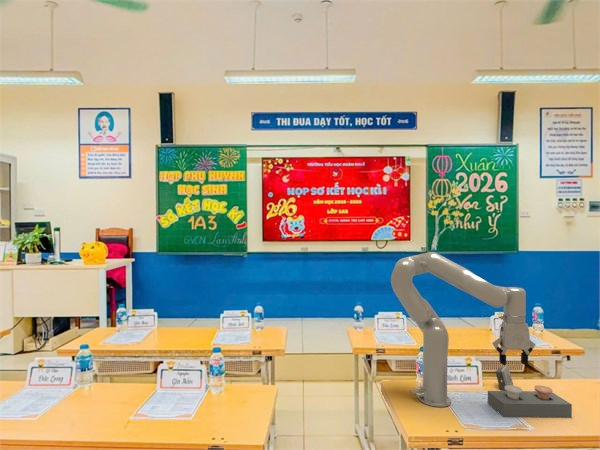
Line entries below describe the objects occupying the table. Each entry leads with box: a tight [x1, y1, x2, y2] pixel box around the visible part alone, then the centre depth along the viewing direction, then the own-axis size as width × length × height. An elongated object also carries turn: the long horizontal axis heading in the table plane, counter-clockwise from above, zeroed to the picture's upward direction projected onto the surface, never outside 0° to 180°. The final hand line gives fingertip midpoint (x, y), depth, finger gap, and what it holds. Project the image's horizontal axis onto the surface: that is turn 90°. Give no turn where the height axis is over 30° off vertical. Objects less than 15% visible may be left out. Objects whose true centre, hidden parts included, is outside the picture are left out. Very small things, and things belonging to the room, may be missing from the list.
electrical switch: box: [494, 364, 515, 391], centre depth 177 cm, size 9×5×9 cm, turn 141°
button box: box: [487, 390, 573, 419], centre depth 155 cm, size 26×12×5 cm, turn 92°
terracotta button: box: [534, 385, 553, 400], centre depth 155 cm, size 6×6×5 cm
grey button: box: [504, 384, 523, 400], centre depth 155 cm, size 6×6×5 cm
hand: (513, 364), depth 155 cm, fingers open, 7 cm apart
